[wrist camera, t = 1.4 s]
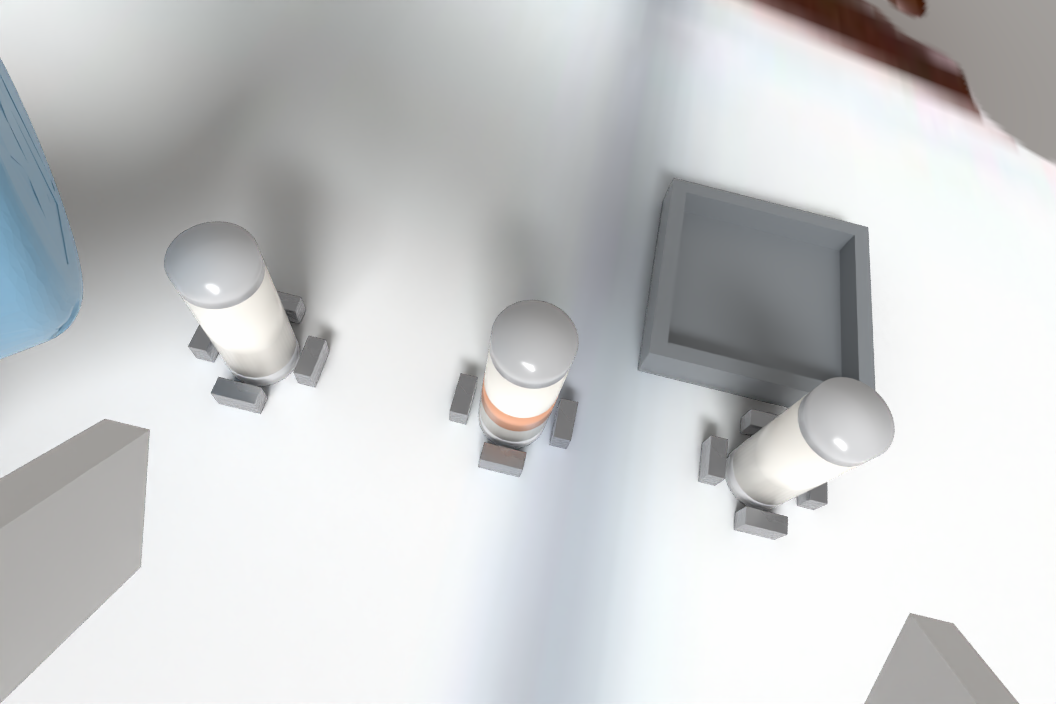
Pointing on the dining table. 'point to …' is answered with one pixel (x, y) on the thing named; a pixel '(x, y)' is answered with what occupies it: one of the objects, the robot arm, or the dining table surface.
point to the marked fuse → (525, 371)
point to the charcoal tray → (756, 297)
